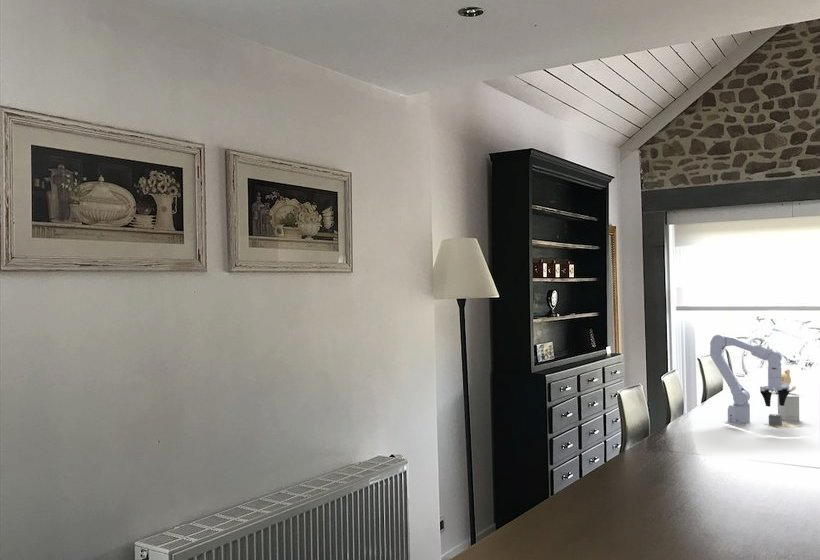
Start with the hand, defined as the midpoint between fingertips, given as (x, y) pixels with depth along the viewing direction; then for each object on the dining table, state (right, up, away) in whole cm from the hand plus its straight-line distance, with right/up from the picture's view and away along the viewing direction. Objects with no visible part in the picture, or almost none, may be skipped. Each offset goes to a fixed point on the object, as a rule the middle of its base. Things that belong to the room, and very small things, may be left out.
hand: (774, 405), depth 358 cm
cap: (-1, -9, -2) cm, 9 cm away
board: (+2, -10, -4) cm, 10 cm away
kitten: (+53, -10, +102) cm, 115 cm away
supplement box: (+12, -10, +12) cm, 20 cm away
